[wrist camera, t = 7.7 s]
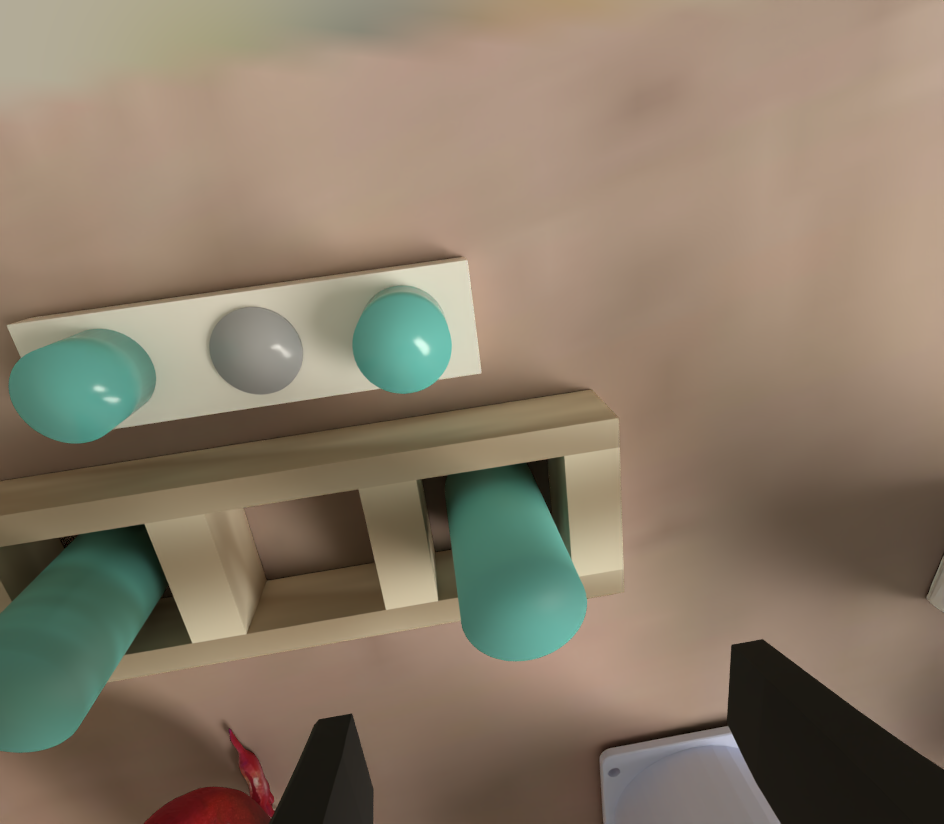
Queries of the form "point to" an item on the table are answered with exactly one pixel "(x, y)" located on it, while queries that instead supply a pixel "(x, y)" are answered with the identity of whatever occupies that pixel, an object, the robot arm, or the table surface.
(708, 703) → the table surface
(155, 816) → the decorative bird figurine
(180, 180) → the table surface
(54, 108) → the table surface
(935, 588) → the syrup box
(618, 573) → the beige compartment tray
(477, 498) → the pin
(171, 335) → the pattern tile
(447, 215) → the table surface
